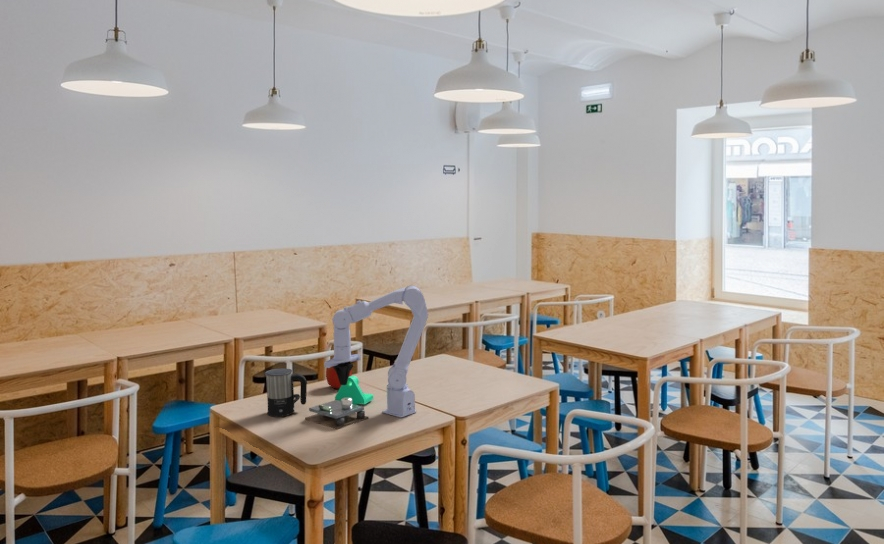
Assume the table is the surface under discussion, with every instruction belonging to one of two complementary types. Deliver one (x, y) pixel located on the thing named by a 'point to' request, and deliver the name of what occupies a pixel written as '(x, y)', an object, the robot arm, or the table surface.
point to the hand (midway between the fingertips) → (343, 384)
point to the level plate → (337, 408)
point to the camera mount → (353, 392)
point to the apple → (333, 377)
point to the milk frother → (283, 391)
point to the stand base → (333, 421)
